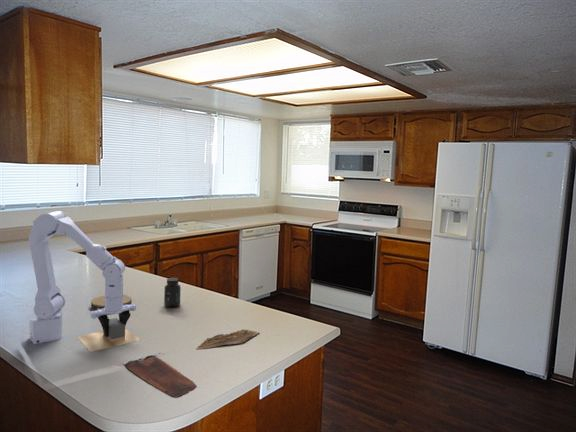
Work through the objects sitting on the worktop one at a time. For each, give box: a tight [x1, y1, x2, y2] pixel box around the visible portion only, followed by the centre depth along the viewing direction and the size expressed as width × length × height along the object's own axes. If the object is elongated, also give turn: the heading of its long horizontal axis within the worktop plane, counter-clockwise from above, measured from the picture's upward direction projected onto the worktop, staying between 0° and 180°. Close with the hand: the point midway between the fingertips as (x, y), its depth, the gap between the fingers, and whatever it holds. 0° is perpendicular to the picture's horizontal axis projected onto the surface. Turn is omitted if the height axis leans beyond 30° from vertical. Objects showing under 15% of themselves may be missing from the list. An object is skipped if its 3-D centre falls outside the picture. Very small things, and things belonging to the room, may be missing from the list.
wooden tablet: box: [125, 355, 198, 398], centre depth 122 cm, size 26×2×10 cm
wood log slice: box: [90, 294, 133, 311], centre depth 180 cm, size 16×16×3 cm
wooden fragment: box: [195, 329, 260, 350], centre depth 150 cm, size 26×11×1 cm, turn 127°
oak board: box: [76, 327, 141, 353], centre depth 143 cm, size 16×15×2 cm
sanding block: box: [102, 317, 126, 342], centre depth 144 cm, size 4×8×5 cm, turn 42°
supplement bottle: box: [163, 277, 181, 309], centre depth 183 cm, size 7×7×12 cm
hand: (113, 334), depth 144 cm, fingers closed on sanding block, 4 cm apart
